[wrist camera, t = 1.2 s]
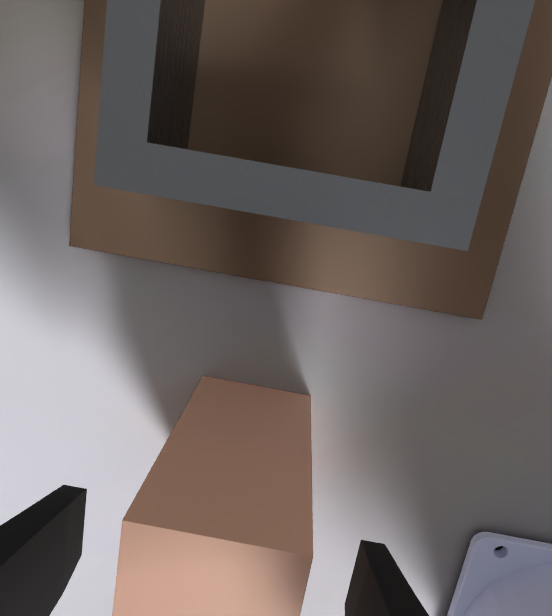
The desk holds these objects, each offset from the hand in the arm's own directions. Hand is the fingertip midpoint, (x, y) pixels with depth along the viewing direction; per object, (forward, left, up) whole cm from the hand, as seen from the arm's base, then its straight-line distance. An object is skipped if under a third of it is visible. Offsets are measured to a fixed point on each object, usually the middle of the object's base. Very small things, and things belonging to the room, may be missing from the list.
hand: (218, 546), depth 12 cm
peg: (0, 0, -6) cm, 6 cm away
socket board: (0, -13, -6) cm, 14 cm away
